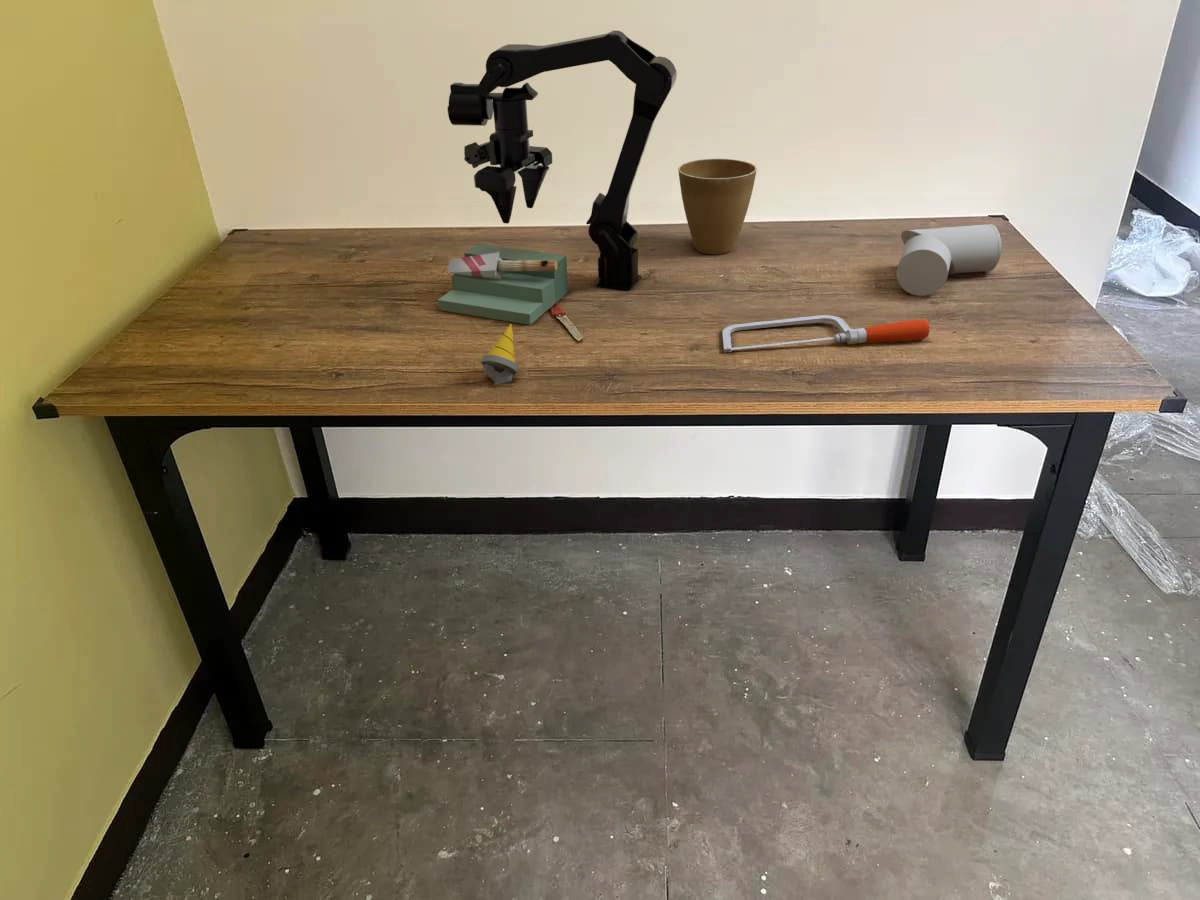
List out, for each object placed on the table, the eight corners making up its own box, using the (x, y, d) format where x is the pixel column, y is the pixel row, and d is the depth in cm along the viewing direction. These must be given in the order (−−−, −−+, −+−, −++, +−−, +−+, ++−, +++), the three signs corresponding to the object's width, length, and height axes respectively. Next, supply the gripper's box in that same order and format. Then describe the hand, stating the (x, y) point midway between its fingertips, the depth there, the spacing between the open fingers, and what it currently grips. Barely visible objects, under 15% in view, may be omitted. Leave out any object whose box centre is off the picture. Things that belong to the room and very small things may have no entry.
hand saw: (725, 345, 137) (712, 319, 145) (725, 363, 138) (712, 337, 147) (932, 323, 138) (907, 299, 147) (929, 341, 140) (905, 316, 148)
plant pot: (765, 245, 179) (771, 164, 170) (723, 267, 169) (728, 183, 161) (704, 230, 187) (707, 153, 178) (661, 250, 178) (662, 170, 169)
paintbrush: (447, 251, 157) (556, 252, 152) (453, 261, 159) (559, 261, 154) (443, 270, 155) (552, 270, 150) (448, 279, 158) (556, 280, 153)
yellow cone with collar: (473, 383, 134) (490, 322, 136) (506, 394, 135) (523, 333, 137) (480, 376, 129) (498, 313, 131) (514, 387, 130) (532, 324, 132)
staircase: (568, 292, 161) (566, 255, 157) (530, 325, 150) (527, 286, 146) (481, 279, 167) (478, 243, 164) (439, 310, 156) (434, 272, 152)
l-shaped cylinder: (895, 246, 172) (881, 284, 157) (916, 194, 166) (904, 228, 151) (986, 276, 169) (981, 317, 153) (1011, 224, 162) (1009, 262, 147)
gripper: (496, 111, 163) (503, 196, 171) (442, 135, 148) (453, 226, 157) (551, 115, 159) (555, 202, 167) (500, 140, 144) (508, 233, 153)
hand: (518, 215), depth 161 cm, fingers open, 9 cm apart
